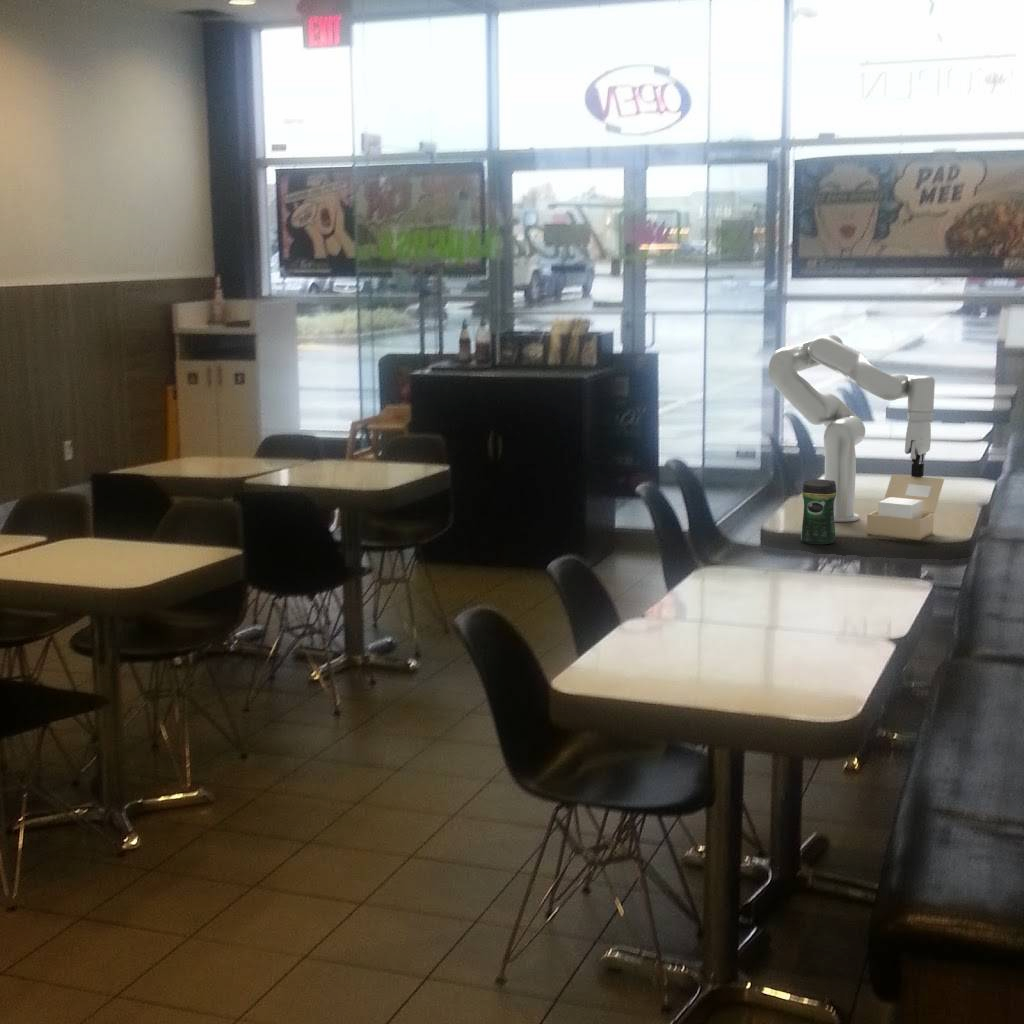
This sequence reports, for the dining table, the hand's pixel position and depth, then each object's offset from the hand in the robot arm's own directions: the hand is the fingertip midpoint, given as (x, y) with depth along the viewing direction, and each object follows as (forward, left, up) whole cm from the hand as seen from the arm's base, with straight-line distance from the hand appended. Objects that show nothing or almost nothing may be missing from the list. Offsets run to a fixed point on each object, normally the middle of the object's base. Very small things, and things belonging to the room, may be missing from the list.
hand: (917, 476), depth 408 cm
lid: (0, -4, -5) cm, 6 cm away
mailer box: (0, -14, -15) cm, 21 cm away
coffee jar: (-16, -38, -16) cm, 44 cm away
